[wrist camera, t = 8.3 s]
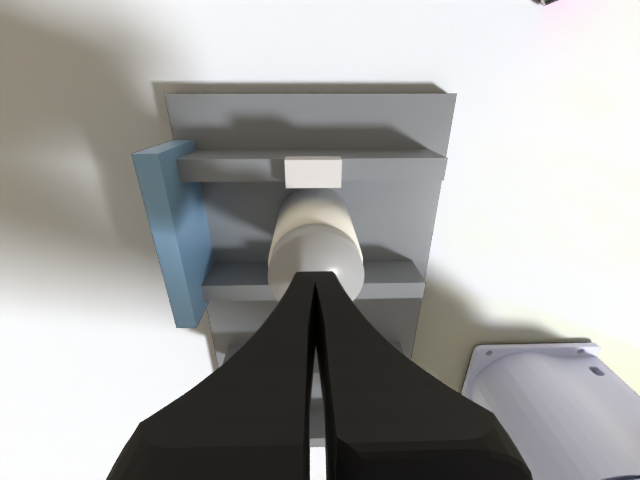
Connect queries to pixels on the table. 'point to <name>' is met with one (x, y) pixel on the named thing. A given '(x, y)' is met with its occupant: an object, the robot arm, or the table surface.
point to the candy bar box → (547, 2)
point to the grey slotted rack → (272, 189)
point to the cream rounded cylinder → (314, 241)
